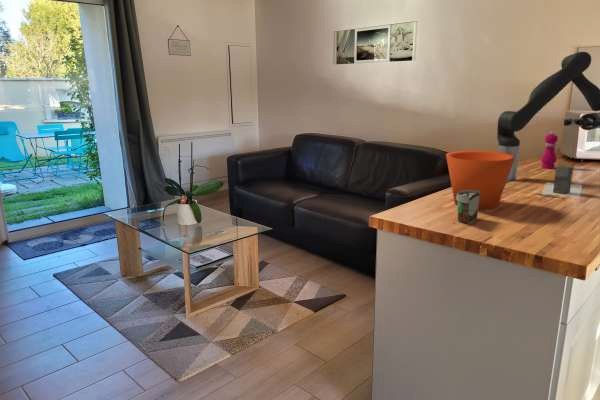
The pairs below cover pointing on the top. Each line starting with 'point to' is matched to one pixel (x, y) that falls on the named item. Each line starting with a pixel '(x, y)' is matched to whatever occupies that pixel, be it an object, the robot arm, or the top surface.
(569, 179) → the charcoal link
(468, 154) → the flowerpot
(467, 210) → the food container
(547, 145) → the pepper mill
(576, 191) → the plate
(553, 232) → the top surface
